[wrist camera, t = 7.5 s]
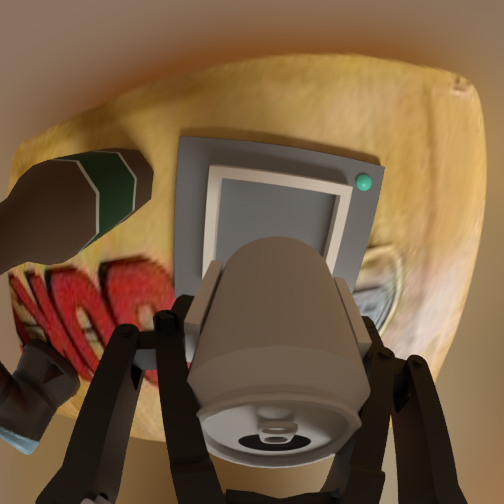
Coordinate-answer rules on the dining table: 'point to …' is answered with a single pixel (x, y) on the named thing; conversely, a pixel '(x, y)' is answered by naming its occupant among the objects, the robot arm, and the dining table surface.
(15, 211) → the beer bottle
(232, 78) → the dining table surface
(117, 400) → the robot arm
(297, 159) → the dock
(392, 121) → the dining table surface
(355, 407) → the can
